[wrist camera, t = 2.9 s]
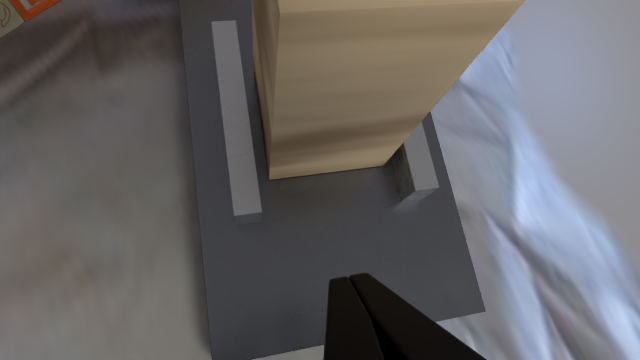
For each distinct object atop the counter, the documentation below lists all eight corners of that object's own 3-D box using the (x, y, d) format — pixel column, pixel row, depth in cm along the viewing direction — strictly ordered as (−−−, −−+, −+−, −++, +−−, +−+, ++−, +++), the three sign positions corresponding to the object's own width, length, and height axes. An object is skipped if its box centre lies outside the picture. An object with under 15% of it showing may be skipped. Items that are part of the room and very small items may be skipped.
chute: (470, 311, 21) (509, 311, 18) (216, 362, 19) (206, 374, 15) (380, -27, 27) (396, -74, 24) (179, -21, 25) (167, -72, 21)
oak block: (383, 165, 21) (524, 0, 10) (269, 179, 20) (279, 13, 9) (360, 66, 23) (458, -173, 11) (253, 74, 22) (246, -181, 10)
